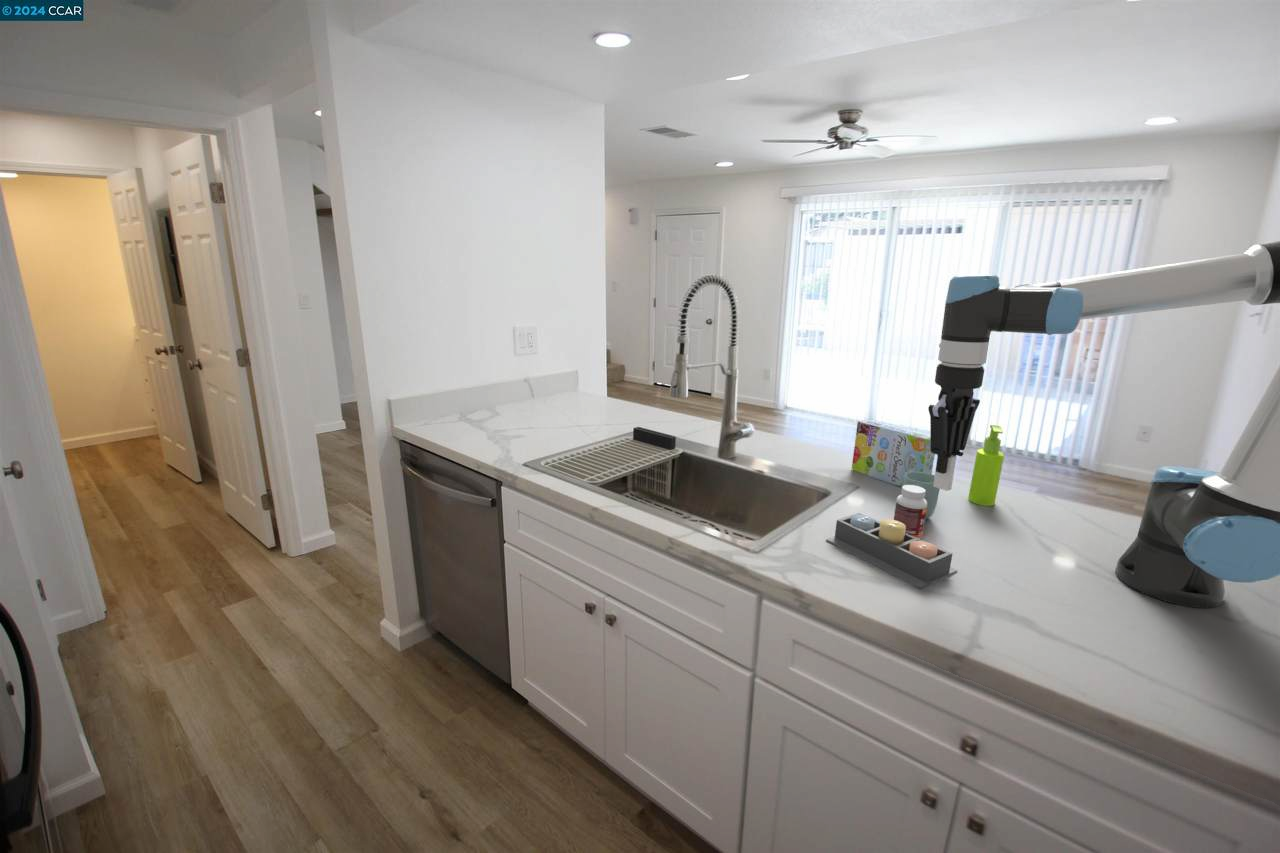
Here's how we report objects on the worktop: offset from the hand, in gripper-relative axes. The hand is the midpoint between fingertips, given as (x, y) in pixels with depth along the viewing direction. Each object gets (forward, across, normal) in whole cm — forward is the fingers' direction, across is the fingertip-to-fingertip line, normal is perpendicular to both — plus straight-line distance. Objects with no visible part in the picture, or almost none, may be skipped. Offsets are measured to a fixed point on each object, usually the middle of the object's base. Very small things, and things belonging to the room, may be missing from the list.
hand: (942, 487), depth 109 cm
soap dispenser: (+18, -44, -13) cm, 49 cm away
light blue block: (+16, +2, -15) cm, 22 cm away
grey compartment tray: (+17, +2, -8) cm, 19 cm away
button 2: (+15, +2, -8) cm, 17 cm away
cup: (+17, -21, -16) cm, 32 cm away
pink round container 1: (+16, +2, -1) cm, 17 cm away
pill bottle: (+17, -10, -11) cm, 23 cm away
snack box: (+17, -37, -35) cm, 54 cm away
